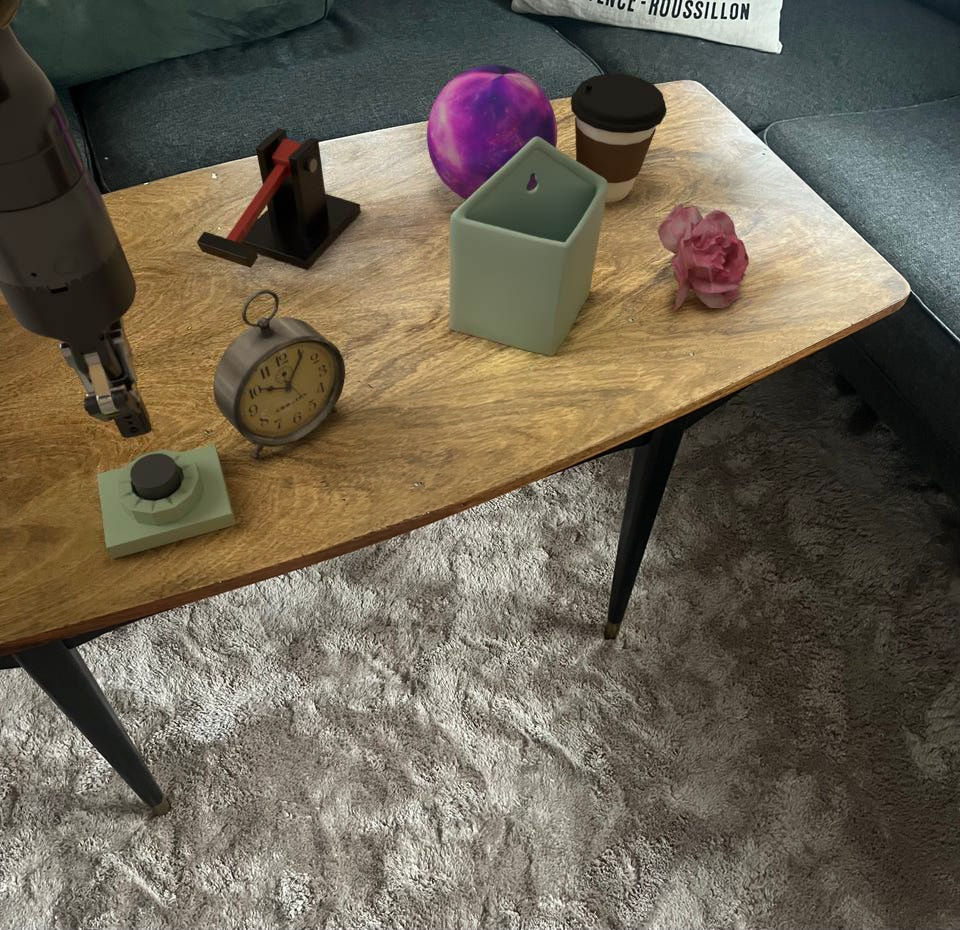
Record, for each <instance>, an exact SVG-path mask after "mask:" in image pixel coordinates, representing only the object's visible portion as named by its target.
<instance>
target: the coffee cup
mask: <svg viewBox="0 0 960 930" xmlns="http://www.w3.org/2000/svg"><path fill="white" fill-rule="evenodd" d="M570 108H571V112H572V113H573V114H574V115H575V117H574V128H575V129H574V130H575V160H576V161H577V162H579V163H580V164H582V165H584V166H585V167H587V168H588V169H590V170H591V171H593V172H595V173H596V174H598V175H600V176H602V177H603V178H605V179H606V181H607V183H608V187H607V194H606V200H605V203H615V202H620V201H621V200H623V199H625V198H626V197H627V196H628V195H629V194H630V193H631V191H632V189H633V187H634V184H635V182H636V179H637V177H638V175H639V173H640V171H641V170H642V168H643V165H644V162H645V160H646V157H647V154H648V152H649V149H650V146H651V144H652V142H653V138H654V136H655V133H656V132H657V131H656V130H657V129H656V128H657V126H659V125H661V124H662V122H663V121H664V119H665V117H666V115H667V111H668V110H667V105H666V101H665V98H664V94H663V92H662V91H661V90H660V89H659V88H658V87H657V86H656V85H655V84H654V83H651V82H650V81H648V80H646V79H644V78H641V77H638V76H634V75H630V74H625V73H605V74H598V75H593V76H591V77H588V78H586V79H585V80H583V81H581V82H580V84H579V85H578V86H577V88H576V89H575V91H574V92H573V93H572V95H571V97H570Z"/></svg>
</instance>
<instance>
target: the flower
mask: <svg viewBox="0 0 960 930" xmlns="http://www.w3.org/2000/svg"><path fill="white" fill-rule="evenodd" d="M657 234H658V236H659V241H660V242H661V244H662V247H663V248H664V249H666V250H667V251H669V252H671V253H672V254H674V255H673V256H672V257H671V258H670V259H669V260H668V261H667V262H664V263H663V265H666V264H670V265H671V267H672V270H673V276H674V278H675V281H676V282H677V283H678V289H677V290H676V292H675V295H676V296H675V297H676V299H675V302H674V305H673V310H674V311H675V312H676V311H677V310H678V309H679V307H680V306H682V304H683V303H684V302H685V300H686V298H687V297H688V295H689V293H690V292H691V290H693V292H694V294H695V295H696V296H697V298H698V299H699V300H700V301H701V302H702V303H704V304H705V305H706V306H707V307H708V308H712V309H724V308H727V307H729V306H730V304H731V303H733V302H735V301H737V300H738V299H739V297H740V292H739V290H738V289H739V287H740V285H741V282H742V281H743V280H744V278H745V277H746V271H747V268H748V266H749V265H750V263H749V261H750V258H749V255H748V253H747V249H746V246H745V243H744V242H743V240H742V239H740V238H738V235H737V233H736V227H735V223H734V221H733V219H731V216H729V215H728V214H727V212H725V211H722V210H719V209H716V210H715V209H714V210H712V211H710V212H709V213H707V214H706V215H705V216H704V217H703V215H702V214H701V212H700V210H699V208H698V206H695V205H690V206H683V203H680V204H677V205H674V206H673V208H672V209H671V211H670V212H669V213H668V214H667V216H666V217H665V218H664V219H663V221H662V222H661V224H660V225H659V227H658V229H657ZM660 265H662V263H661V264H660V263H659V266H660ZM656 266H657V264H653V265H650V267H656Z"/></svg>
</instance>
